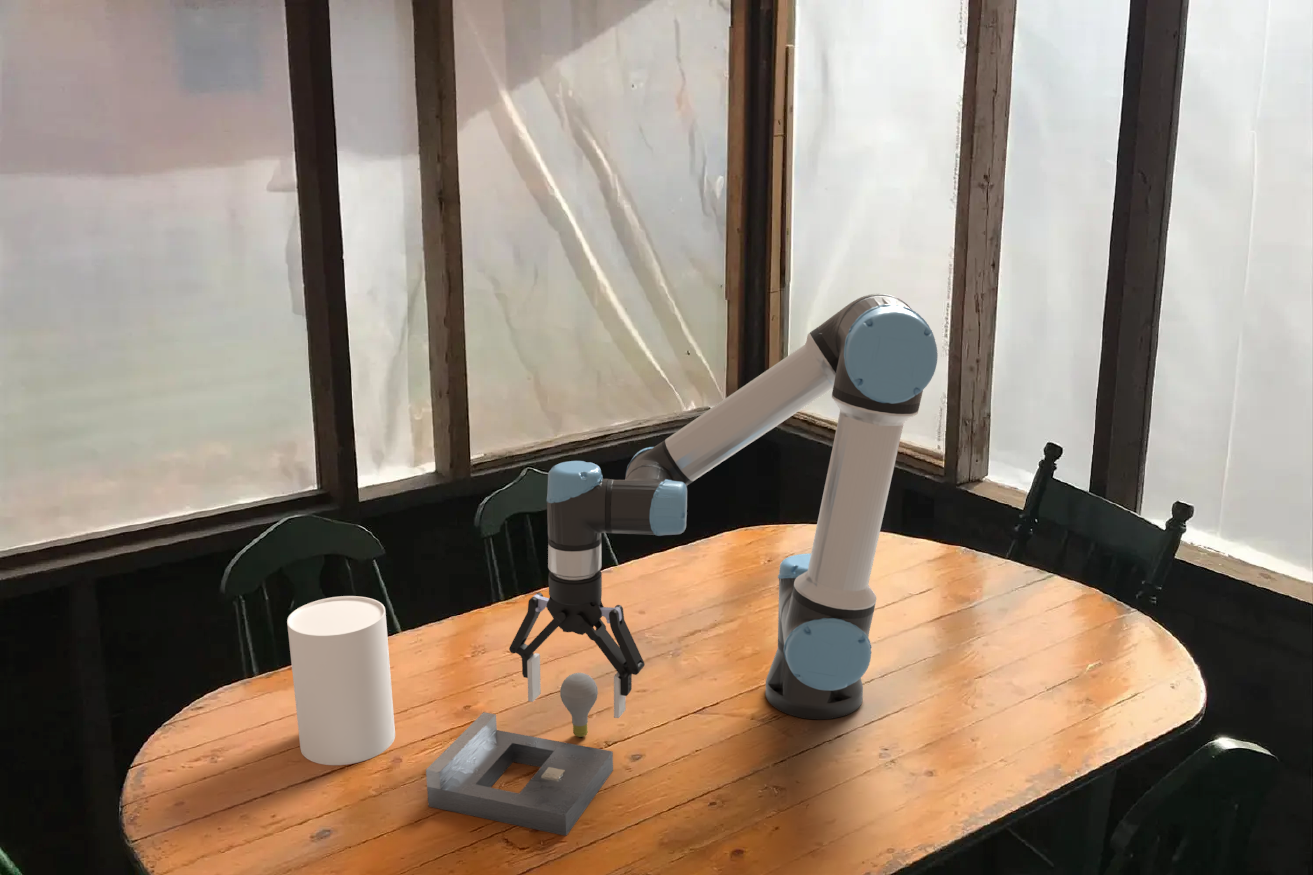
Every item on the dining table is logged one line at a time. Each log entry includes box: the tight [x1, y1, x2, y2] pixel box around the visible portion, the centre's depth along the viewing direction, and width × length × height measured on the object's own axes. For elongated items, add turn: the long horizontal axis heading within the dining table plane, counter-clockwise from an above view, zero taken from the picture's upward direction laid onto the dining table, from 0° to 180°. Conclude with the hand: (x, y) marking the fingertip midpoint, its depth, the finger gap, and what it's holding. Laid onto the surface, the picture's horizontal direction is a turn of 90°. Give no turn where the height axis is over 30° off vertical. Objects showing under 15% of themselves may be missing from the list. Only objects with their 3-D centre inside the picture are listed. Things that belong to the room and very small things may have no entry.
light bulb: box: [559, 672, 599, 738], centre depth 167 cm, size 5×5×10 cm
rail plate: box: [425, 711, 614, 837], centre depth 155 cm, size 20×16×6 cm
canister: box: [286, 595, 396, 766], centre depth 166 cm, size 14×14×20 cm
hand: (576, 705), depth 167 cm, fingers open, 13 cm apart
